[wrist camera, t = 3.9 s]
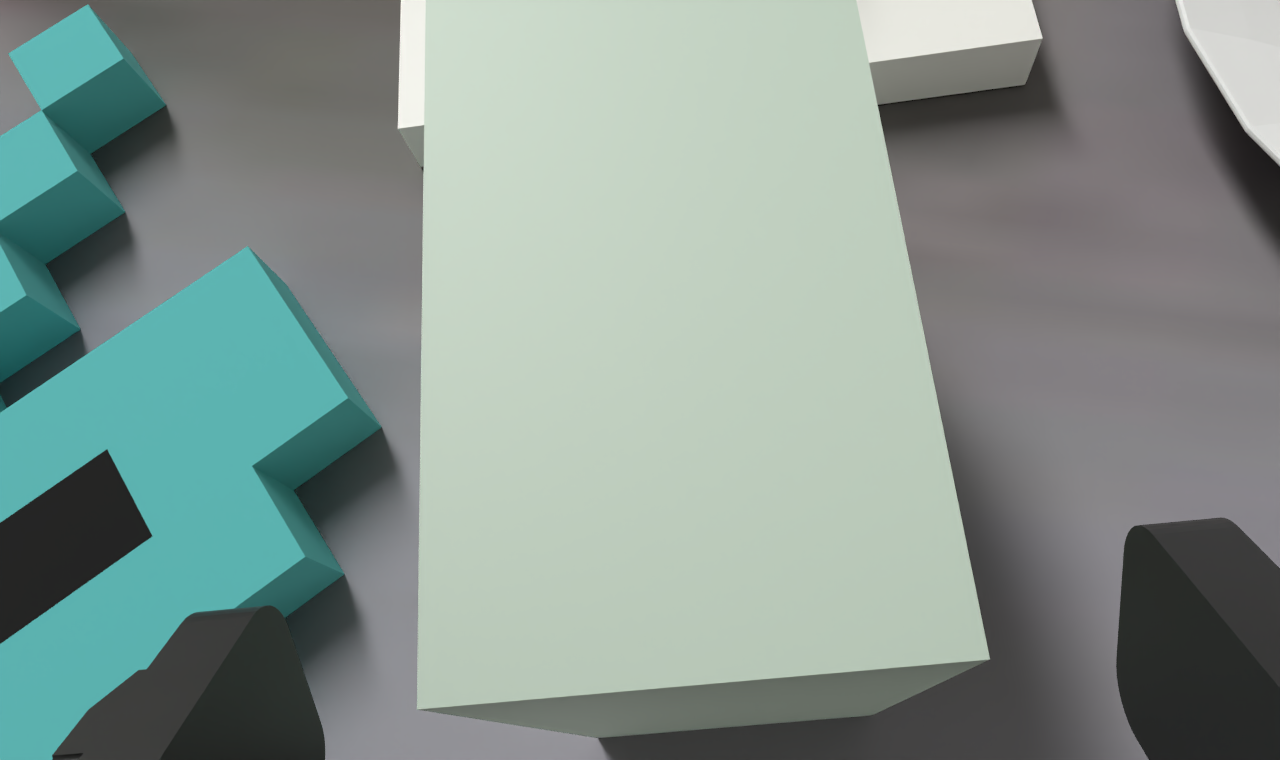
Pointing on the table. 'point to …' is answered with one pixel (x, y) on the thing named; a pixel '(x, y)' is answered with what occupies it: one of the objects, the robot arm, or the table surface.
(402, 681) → the table surface
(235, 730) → the robot arm
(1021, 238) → the table surface
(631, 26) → the pale green square block
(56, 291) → the alien figure
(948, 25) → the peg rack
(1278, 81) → the plate
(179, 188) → the table surface
